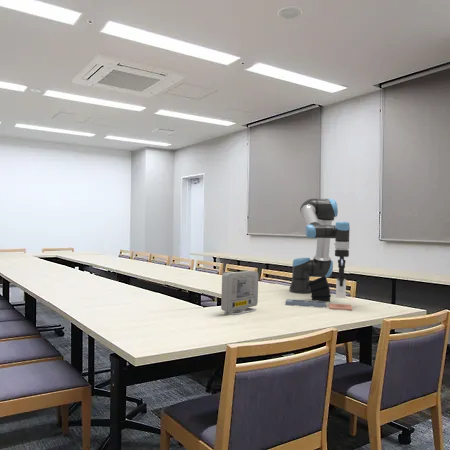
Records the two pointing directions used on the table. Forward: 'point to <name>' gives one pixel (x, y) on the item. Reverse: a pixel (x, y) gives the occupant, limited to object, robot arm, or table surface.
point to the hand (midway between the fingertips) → (340, 291)
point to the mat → (340, 306)
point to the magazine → (320, 289)
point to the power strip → (305, 303)
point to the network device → (239, 292)
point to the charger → (338, 294)
